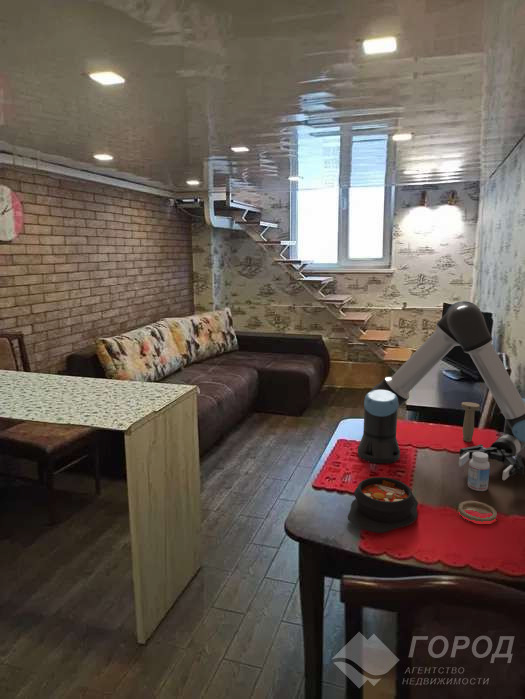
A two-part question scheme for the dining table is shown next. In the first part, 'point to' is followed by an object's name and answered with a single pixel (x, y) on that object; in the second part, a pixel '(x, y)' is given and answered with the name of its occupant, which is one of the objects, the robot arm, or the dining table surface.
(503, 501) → the dining table surface
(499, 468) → the dining table surface
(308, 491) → the dining table surface
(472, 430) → the handle
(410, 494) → the casserole
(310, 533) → the dining table surface
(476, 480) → the pill bottle
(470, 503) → the ring
